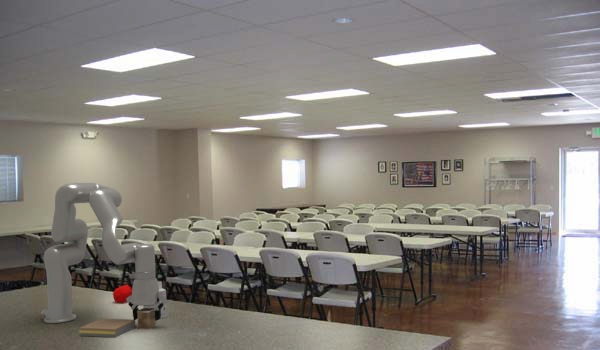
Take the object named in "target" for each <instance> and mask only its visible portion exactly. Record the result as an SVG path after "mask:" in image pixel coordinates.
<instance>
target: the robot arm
mask: <svg viewBox="0 0 600 350" xmlns="http://www.w3.org/2000/svg"><path fill="white" fill-rule="evenodd" d="M122 200H123V199H122V194H121V193H120V191H118V190H117V189H116V188H113V187H110V186H105V185H103V184H100V183H95V182H73V183H66V184H63V185H61V186H60V187H59V188H57V190H56V192H55V196H54V213H53V218H52V227H51V232H50V233H51V234H50V235H51V239H52V240H53V241H54V242H55V243H59V244H57V245H56V244H55V245H52V246H50V247H48V248H47V249H46V250H44V251H45V252H44V254H43V262H44V267H45V271H46V284H47V285H46V287H47V288H46V289H47V290H46V292H47V309H46V308H45V309H42V310H41V312H40V315H41V316H43V315H45V317H44V318H43V321H44V322H45V323H47V324H58V323H59V324H60V323H67V322H71V321H73V320H74V321H75V320H76V319H77V314H76V313H73V289H72V288H73V287H72V275H71V273H70V270H69V268H68V267H69V266H74V265H78V264H79V263H81V262H82V261H83V259H84V258H85V256H86V255H85V254H86V248H87V243H88V235H89V228H88V225H87V223H86V221H85V220H83V219H81V218H76V216H77V209H76V205H75V204H89V206H90V208H91V209H92V211H93V213H94V214H95V217H96V218H97V221H98V222H99V224H100V225H101V228H102V231H101V244H102V248H103V249H104V252H105V253H106V255H107V257H108V259H110V261H111V262H112V263H113V264H115V265H117V266H118V265H120V266H121V265H125V264H129V263H134V264H135V272H133V274H132V276H133V277H135V278H134V279H133V283H132V287H131V289H132V295H131V296H129V297H128V298H126V300H127V301H126V302H127V303H128V306H129V307H130V309H131V310H132V320H135V321H136V320H138V312H137V311H138V310H140V308H139V306H141V307H143V306H152V305H153V306H154V308H155V309H156V310H155V321H156V322H157V321H159V320H161V318H160V317H161V309H162V307H163V306H164V305H165V302H166V303H167V299H168V298H167V297H166V298H165V297H163V296H162V295H160V294H159V286H158V282H159V280H158V279H157V278H156V251H155V250H156V249H155V246H154V245H153V244H151V243H137V242H130V243H125V244H121V243H120V241H119V239H118V237H117V234H116V229H117V227H118V226H120V225H121V224H122V222H123V216H122V215H121V213H120V211H119V210H118V207H120V206H121V205H122ZM60 243H61V244H60ZM160 300H161V301H162V302H161V304H160V303H159V301H160Z"/></svg>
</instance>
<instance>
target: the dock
mask: <svg viewBox="0 0 600 350" xmlns="http://www.w3.org/2000/svg"><path fill="white" fill-rule="evenodd" d="M135 328H136V320H133V319H125V318H99V319H98V320H94V321H92V322H91V323H87V324H85V325H84V326H81V327H79V330H78V331H79V335H80V337H99V338H100V337H101V338H117V337H118V336H121V335H123V334H125V333H127V332H129V331H130V330H133V329H135Z"/></svg>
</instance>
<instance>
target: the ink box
mask: <svg viewBox="0 0 600 350" xmlns="http://www.w3.org/2000/svg"><path fill="white" fill-rule="evenodd" d="M158 286H159V294H160V295H162V296H163V297H165V298H166V299H167V290H166V289H165V288H163V282H162V281H158ZM161 302H162V301H161V300H160V301H159V303H160V304H161ZM142 307H143V308H154V306H153V305H152V306H142ZM164 318H165V319H166V318H167V301H166V302H165V305H164V306H163V307H162V309H161V317H160V319H164Z"/></svg>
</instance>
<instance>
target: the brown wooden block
mask: <svg viewBox="0 0 600 350" xmlns="http://www.w3.org/2000/svg"><path fill="white" fill-rule="evenodd" d="M155 310H156V309H155V308H139V310H138V311H137V312H138V319H137V329H140V330H150V328H151V329H152V328H154V327H157V321H155Z"/></svg>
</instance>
